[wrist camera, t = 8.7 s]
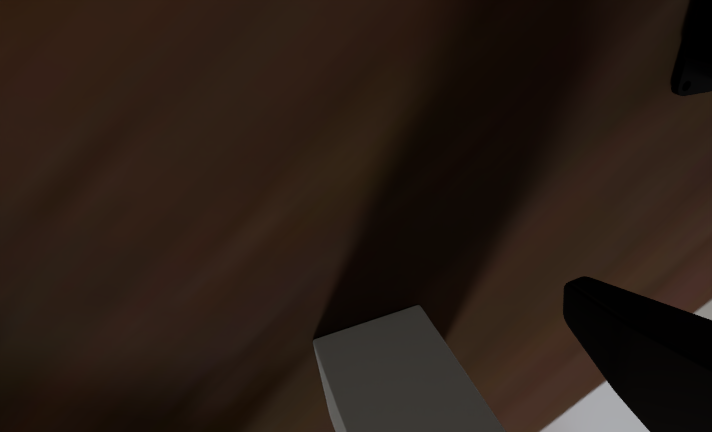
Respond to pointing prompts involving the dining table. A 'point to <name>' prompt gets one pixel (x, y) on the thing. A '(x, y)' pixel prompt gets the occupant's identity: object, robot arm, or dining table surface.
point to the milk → (398, 379)
